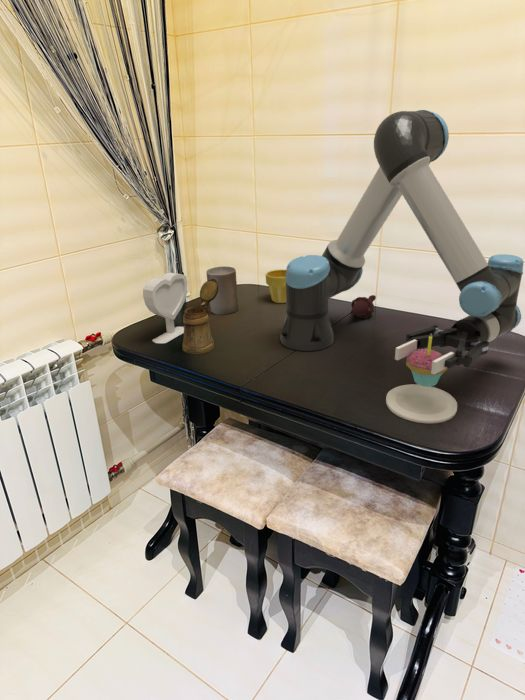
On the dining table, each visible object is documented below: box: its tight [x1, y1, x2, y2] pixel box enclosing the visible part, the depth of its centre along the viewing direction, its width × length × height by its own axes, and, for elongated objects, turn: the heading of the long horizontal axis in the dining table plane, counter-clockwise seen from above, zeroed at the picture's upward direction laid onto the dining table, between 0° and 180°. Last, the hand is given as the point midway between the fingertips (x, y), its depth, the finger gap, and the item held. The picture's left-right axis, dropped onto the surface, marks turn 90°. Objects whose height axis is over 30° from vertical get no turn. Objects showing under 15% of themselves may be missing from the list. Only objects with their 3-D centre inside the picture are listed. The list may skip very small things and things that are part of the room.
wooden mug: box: [181, 278, 219, 355], centre depth 140 cm, size 9×14×18 cm, turn 146°
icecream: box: [350, 294, 377, 320], centre depth 159 cm, size 7×7×15 cm
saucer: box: [385, 383, 458, 425], centre depth 112 cm, size 15×15×1 cm
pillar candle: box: [205, 266, 239, 316], centre depth 167 cm, size 10×10×15 cm
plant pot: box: [265, 268, 286, 304], centre depth 175 cm, size 10×10×10 cm
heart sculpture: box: [142, 272, 188, 344], centre depth 148 cm, size 16×5×18 cm, turn 150°
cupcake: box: [405, 334, 449, 387], centre depth 107 cm, size 9×8×12 cm
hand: (414, 360), depth 104 cm, fingers closed on cupcake, 8 cm apart
